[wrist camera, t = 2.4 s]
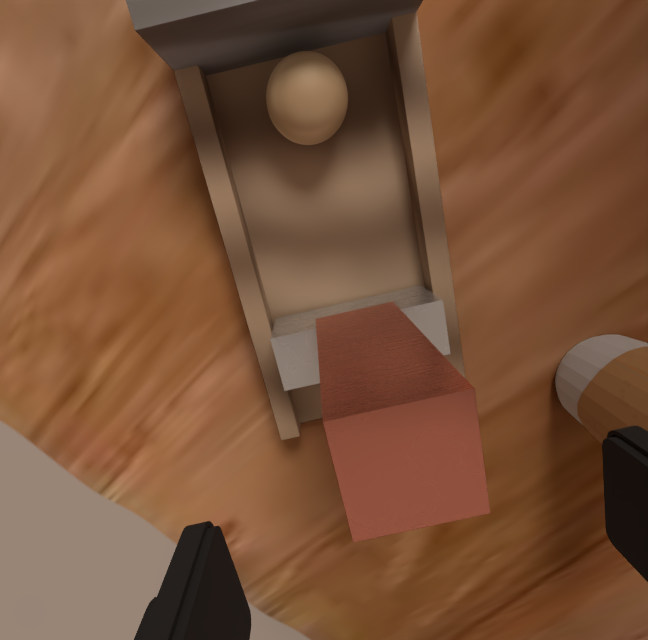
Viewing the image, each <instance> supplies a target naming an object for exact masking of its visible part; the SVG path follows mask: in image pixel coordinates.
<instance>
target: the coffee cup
mask: <svg viewBox="0 0 648 640" xmlns="http://www.w3.org/2000/svg"><path fill="white" fill-rule="evenodd" d="M555 385H556V391H557V393H558V398H559V400H560V402H561V404H562V406H563V407H564V408H565V409H566V410H567V411H568V412H569V413H570V414H571V415H572V416H573V417H574V418H575V419H576V420H578V421H579V422H580V423H581V424H582V425H583V426H584V427H585V428H586V429H587V430H588V432H589V433H590V434H591V435H592V436H593V437H594V438H596V439H597V440H598V441H599V442H600V443H601V444H602V442H603V440H604V439H606V438H607V434H608V432H609V431H612V430H616V429H620V428H625V427H629V426H633V425H634V426H639V427H642V428H643V429H645V430H647V431H648V343H646V342H642V341H639V340H636V339H633V338H629V337H626V336H622V335H617V334H612V335H602V336H596V337H592V338H589V339H586V340H584V341H582V342H580V343H578V344H577V345H575V346H574V347H573V348H572V349H571V350H570V351H568V352H567V354H566V355H565V356H564V358H563V359H562V360H561V362H560V364H559V367H558V369H557V371H556V378H555Z"/></svg>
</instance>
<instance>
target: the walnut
mask: <svg viewBox="0 0 648 640" xmlns="http://www.w3.org/2000/svg"><path fill="white" fill-rule="evenodd" d="M266 104H267V109H268V113H269V116H270V118H271V121H272V122H273V124H274V126H275V127H276V128H277V130H278V131H279V132H280V133H281V134H282V135H283V136H284V137H286V138H287V139H289V140H290V141H292V142H295V143H298V144H302V145H314V144H318V143H321V142H323V141H325V140H327V139H329V138H330V137H331V136H332V135H333V134H335V132H336V131H337V130H338V129H339V127H340V126H341V124H342V122H343V120H344V118H345V115H346V111H347V106H348V91H347V86H346V83H345V80H344V77H343V75H342V73H341V71H340V70H339V69H338V67H337V66H336V65H335V64H334V63H333V62H332V61H331V60H330V59H329V58H327V57H326V56H324V55H322V54H320V53H317V52H313V51H300V52H296V53H293V54H291V55H289V56H287V57H285V58H284V59H283V60H282V61H280V62H279V63H278V65H277V66H276V67H275V69H274V70H273V72H272V74H271V76H270V78H269V81H268V84H267V90H266Z"/></svg>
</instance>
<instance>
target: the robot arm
mask: <svg viewBox="0 0 648 640" xmlns="http://www.w3.org/2000/svg"><path fill="white" fill-rule="evenodd" d="M602 451H603V475H604V498H605V521H606V532H607V535H608V537H609V539H610V541H611V543H612V544H613V545H614V547H615V548H616V549H617V550H618V551H619V552H620V553H621V554H622V555H623V556H624V557H625V558H626V559H627V561H628V562H629V563H630V564H631V565H632V566H633V567H634V568H635V569H636V570H637V571H638V572H639V573H640V574H641V575H642V576H643V577H644V579H645V580H646V581H647V582H648V431H647V430H645V429H643V428H642V427H639V426H634V425H633V426H629V427H625V428H620V429H616V430H612V431H609V432H608V434H607V438H606V439H604V440H603V442H602ZM250 631H251V614H250V609H249V606H248V603H247V600H246V597H245V595H244V592H243V589H242V586H241V583H240V581H239V578H238V575H237V572H236V569H235V566H234V564H233V561H232V558H231V555H230V552H229V550H228V547H227V544H226V541H225V538H224V536H223V533H222V530H221V528H220V527H219V526H215V527H214V526H213V524H212V523H211V522H210V521H207V522H203V523H198V524H194V525H189V526H186V527H185V528H184V530H183V532H182V534H181V537H180V539H179V542H178V544H177V547H176V550H175V552H174V555H173V557H172V560H171V562H170V565H169V567H168V570H167V573H166V575H165V578H164V580H163V583H162V585H161V588H160V591H159V593H158V596H157V597H155V598H154V599H153V600H152V601H151V602H150V603H149V605H148V607H147V609H146V611H145V614H144V616H143V619H142V621H141V624H140V626H139V628H138V631H137V633H136V636H135V638H134V640H249V638H250Z"/></svg>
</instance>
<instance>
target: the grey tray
mask: <svg viewBox="0 0 648 640" xmlns="http://www.w3.org/2000/svg"><path fill="white" fill-rule="evenodd" d="M422 1H423V0H126V2H127V6H128V9H129V12H130V15H131V19H132V22H133V25H134V28H135V31H136V32H137V33H138V34H139V35H140V36H141V37H142V38H143V39H144V40H145V41H146V42H147V43H148V44H149V45H150V46H151V47H152V48H153V50H154V51H155V52H156V53H157V54H158V55H159V56H160V57H161V58H162V59H163V60H164V61H165V62H166V63H167V64H168V65H169V66H170V67H171V68H172V69H173V70H174V73H175V76H176V80H177V83H178V87H179V90H180V94H181V97H182V101H183V104H184V107H185V111H186V114H187V118H188V121H189V125H190V128H191V131H192V135H193V138H194V142H195V145H196V149H197V152H198V155H199V159H200V162H201V166H202V169H203V173H204V176H205V179H206V183H207V186H208V190H209V193H210V197H211V200H212V204H213V207H214V210H215V214H216V217H217V221H218V224H219V228H220V231H221V234H222V238H223V241H224V245H225V248H226V252H227V255H228V258H229V262H230V265H231V269H232V272H233V276H234V279H235V283H236V286H237V289H238V293H239V296H240V300H241V303H242V307H243V310H244V313H245V317H246V320H247V324H248V327H249V331H250V334H251V337H252V341H253V344H254V348H255V351H256V355H257V358H258V362H259V365H260V368H261V372H262V375H263V379H264V382H265V386H266V389H267V392H268V396H269V399H270V403H271V406H272V410H273V413H274V416H275V420H276V423H277V427H278V430H279V434H280V437H281V440H285V439H290V438H295V437H299V436H300V423H303V422H307V421H312V420H316V419H321V418H323V417H322V403H321V389H320V383H318V384H314V385H309V386H305V387H300V388H296V389H291V390H287V391H284V387H283V384H282V380H281V376H280V373H279V369H278V366H277V362H276V358H275V355H274V351H273V348H272V344H271V340H270V338H271V334H272V331H273V327H274V324H275V321H276V318H279V317H284V316H288V315H292V314H297V313H301V312H305V311H310V310H314V309H319V308H323V307H327V306H332V305H336V304H341V303H345V302H349V301H354V300H358V299H363V298H367V297H371V296H376V295H380V294H385V293H389V292H393V291H398V290H402V289H407V288H411V287H415V286H420V285H421V286H423V287H424V288H426V289H427V290H429V291H430V292H432V293H433V294H435V295H436V296H438V297H439V298H441V299H442V300H443V304H444V311H445V318H446V325H447V332H448V339H449V346H450V353H451V354H448V355H444V357H445V358H446V359H447V360H448V361H449V362H450V363H451V364H452V365H453V366H454V367H455V368H456V369H457V370H458V371H459V373H460V374H461V375H462V376H463V377H464V378H465V370H464V363H463V355H462V348H461V341H460V333H459V326H458V318H457V311H456V303H455V296H454V288H453V281H452V273H451V266H450V258H449V251H448V243H447V236H446V228H445V221H444V213H443V206H442V198H441V191H440V184H439V176H438V169H437V161H436V154H435V146H434V139H433V131H432V124H431V116H430V109H429V101H428V94H427V86H426V79H425V71H424V64H423V56H422V49H421V41H420V34H419V27H418V19H417V10H418V8H419V6H420V4H421V3H422ZM300 51H313V52H317V53H320V54H322V55H324V56H326V57H327V58H329V59H330V60H331V61H332V62H333V63H334V64H335V65H336V66H337V67H338V69H339V70H340V71H341V73H342V75H343V77H344V80H345V83H346V86H347V91H348V106H347V111H346V115H345V118H344V120H343V122H342V124H341V126H340V127H339V129H338V130H337V131H336V132H335V134H333V135H332V136H331V137H330V138H329V139H327V140H325V141H323V142H321V143H318V144H314V145H302V144H298V143H295V142H292V141H290V140H289V139H287V138H286V137H284V136H283V135H282V134H281V133H280V132H279V131H278V130H277V128H276V127H275V126H274V124H273V122H272V121H271V118H270V116H269V113H268V109H267V104H266V90H267V84H268V81H269V78H270V76H271V74H272V72H273V70H274V69H275V67H276V66H277V65H278V63H279V62H280V61H282V60H283V59H284V58H285V57H287V56H289V55H291V54H293V53H296V52H300ZM465 379H466V378H465Z"/></svg>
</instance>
